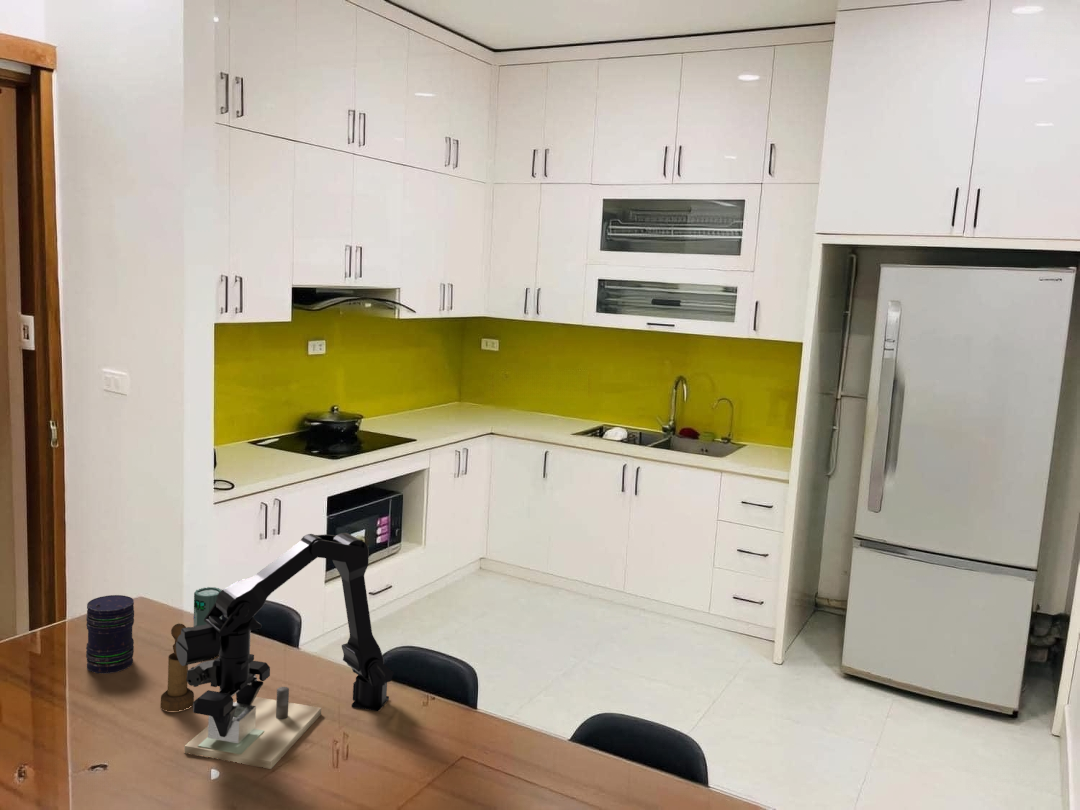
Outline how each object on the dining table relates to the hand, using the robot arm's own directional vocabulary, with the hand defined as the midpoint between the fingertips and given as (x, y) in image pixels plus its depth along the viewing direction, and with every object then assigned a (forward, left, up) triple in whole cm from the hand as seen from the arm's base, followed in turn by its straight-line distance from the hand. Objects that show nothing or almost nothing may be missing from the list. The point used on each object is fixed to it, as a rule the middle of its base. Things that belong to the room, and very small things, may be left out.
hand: (232, 727), depth 169 cm
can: (+28, -37, -4) cm, 47 cm away
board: (-2, -6, -4) cm, 7 cm away
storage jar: (+44, -23, -4) cm, 50 cm away
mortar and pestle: (+19, -11, -4) cm, 22 cm away
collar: (0, 0, -1) cm, 1 cm away
